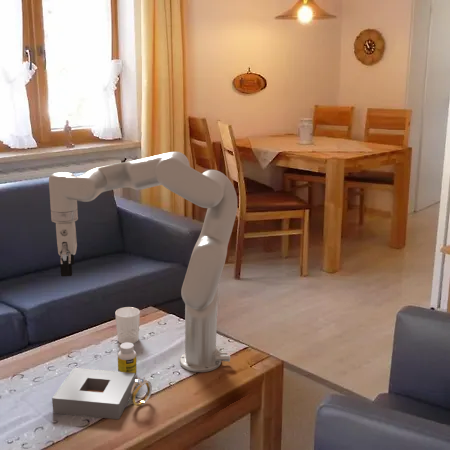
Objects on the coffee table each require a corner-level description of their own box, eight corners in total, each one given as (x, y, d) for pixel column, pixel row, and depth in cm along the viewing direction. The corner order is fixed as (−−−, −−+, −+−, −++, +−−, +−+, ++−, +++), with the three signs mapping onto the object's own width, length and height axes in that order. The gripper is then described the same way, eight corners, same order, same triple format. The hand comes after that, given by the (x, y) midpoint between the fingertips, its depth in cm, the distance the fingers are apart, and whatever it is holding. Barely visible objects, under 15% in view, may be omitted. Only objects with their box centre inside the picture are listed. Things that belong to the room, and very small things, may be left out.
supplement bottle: (126, 382, 183) (125, 351, 180) (114, 375, 186) (113, 345, 183) (140, 374, 187) (139, 345, 184) (128, 368, 190) (127, 339, 187)
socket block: (135, 387, 180) (134, 373, 179) (119, 419, 165) (118, 404, 164) (74, 381, 182) (73, 367, 181) (53, 413, 167) (52, 398, 166)
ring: (135, 412, 168) (134, 386, 166) (127, 407, 170) (126, 381, 168) (155, 402, 173) (154, 376, 171) (147, 397, 175) (146, 372, 173)
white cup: (127, 332, 213) (127, 304, 211) (145, 338, 209) (144, 311, 206) (111, 340, 207) (110, 312, 204) (128, 347, 203) (127, 319, 200)
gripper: (75, 223, 177) (79, 280, 182) (79, 207, 193) (82, 259, 198) (48, 223, 175) (52, 281, 180) (53, 207, 192) (57, 260, 197)
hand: (67, 270), depth 189 cm, fingers open, 9 cm apart
